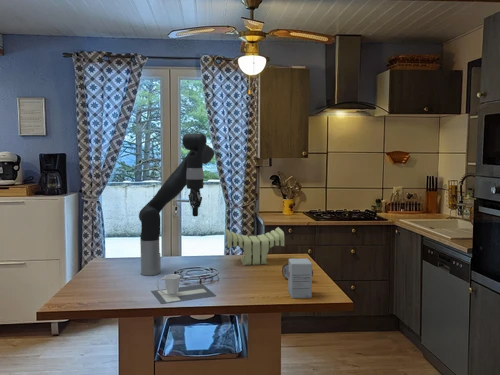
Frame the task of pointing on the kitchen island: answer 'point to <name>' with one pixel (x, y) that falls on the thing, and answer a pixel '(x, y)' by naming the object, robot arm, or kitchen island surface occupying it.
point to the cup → (171, 284)
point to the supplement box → (300, 278)
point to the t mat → (184, 294)
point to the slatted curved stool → (255, 245)
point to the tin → (285, 270)
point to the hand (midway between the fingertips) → (195, 216)
